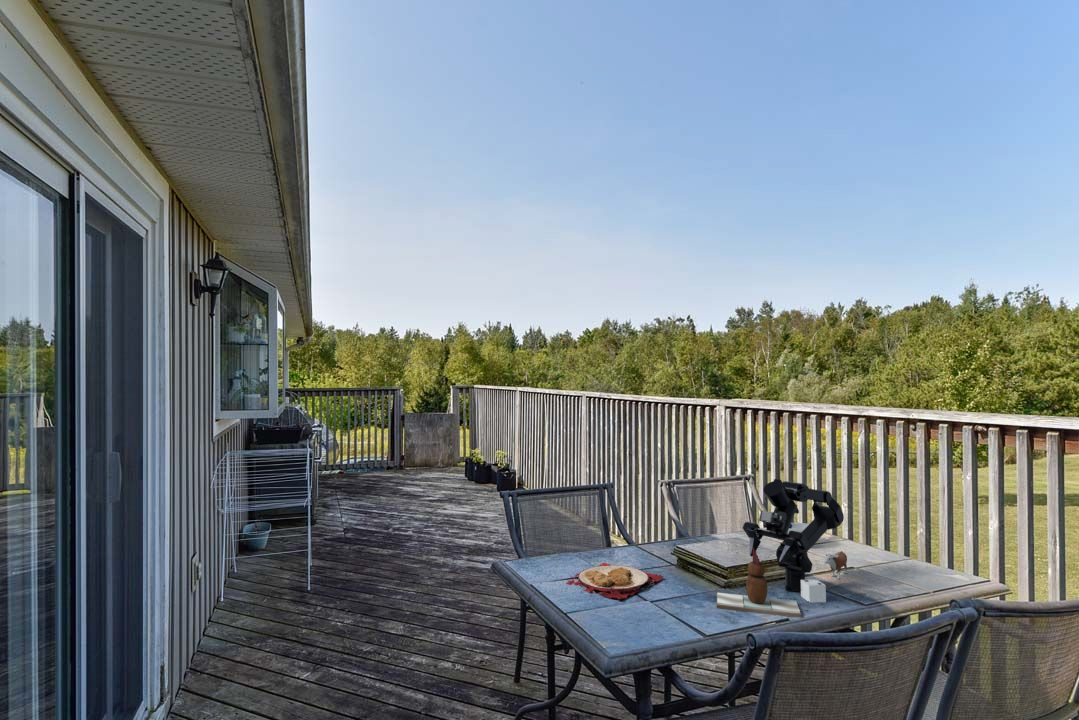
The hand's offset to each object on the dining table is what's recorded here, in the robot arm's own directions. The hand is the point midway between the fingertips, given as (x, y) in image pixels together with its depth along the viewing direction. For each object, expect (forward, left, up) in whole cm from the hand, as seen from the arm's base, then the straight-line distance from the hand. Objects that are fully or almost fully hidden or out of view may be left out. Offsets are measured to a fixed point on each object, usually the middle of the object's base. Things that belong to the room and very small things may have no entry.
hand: (765, 559), depth 170 cm
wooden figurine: (+4, -3, -11) cm, 12 cm away
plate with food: (-4, -47, -13) cm, 49 cm away
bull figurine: (-32, +25, -13) cm, 42 cm away
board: (+4, -3, -12) cm, 13 cm away
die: (-7, +14, -13) cm, 20 cm away
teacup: (-69, +18, -13) cm, 72 cm away
